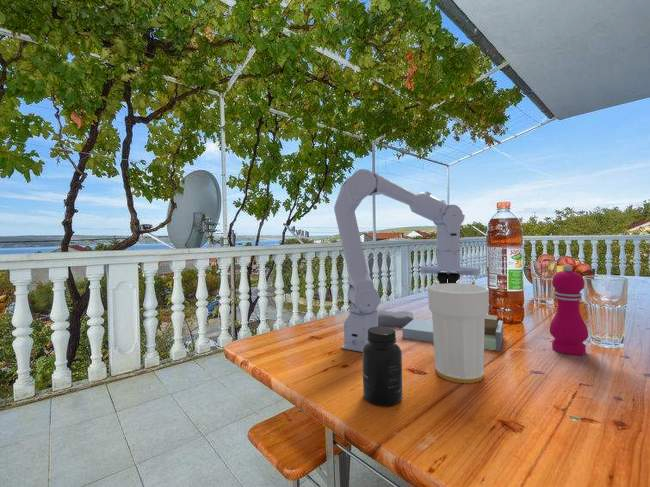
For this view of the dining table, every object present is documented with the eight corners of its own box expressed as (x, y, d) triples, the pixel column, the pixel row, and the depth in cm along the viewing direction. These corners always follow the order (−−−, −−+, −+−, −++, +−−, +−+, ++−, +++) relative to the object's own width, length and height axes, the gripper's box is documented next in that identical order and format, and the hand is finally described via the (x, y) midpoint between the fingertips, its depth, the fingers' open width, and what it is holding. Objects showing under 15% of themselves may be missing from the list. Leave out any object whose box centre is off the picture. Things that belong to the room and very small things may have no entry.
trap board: (402, 337, 89) (402, 321, 89) (414, 326, 98) (413, 311, 98) (500, 351, 76) (500, 332, 76) (503, 337, 86) (503, 320, 86)
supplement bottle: (355, 398, 57) (353, 330, 57) (378, 384, 62) (376, 322, 62) (388, 412, 53) (386, 338, 52) (410, 396, 57) (408, 328, 57)
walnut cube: (496, 335, 80) (496, 319, 80) (478, 333, 82) (478, 318, 82) (497, 331, 83) (497, 315, 83) (480, 329, 85) (480, 314, 85)
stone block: (376, 324, 109) (374, 326, 100) (377, 309, 110) (375, 310, 100) (413, 326, 107) (415, 329, 97) (413, 311, 107) (415, 312, 98)
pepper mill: (548, 343, 81) (547, 262, 80) (585, 347, 77) (585, 263, 76) (550, 353, 75) (550, 265, 74) (591, 358, 71) (590, 266, 70)
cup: (494, 369, 67) (493, 285, 67) (485, 392, 58) (484, 294, 57) (438, 358, 74) (436, 281, 73) (422, 377, 64) (420, 290, 64)
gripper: (480, 249, 86) (480, 300, 87) (424, 249, 94) (425, 296, 94) (476, 251, 80) (477, 306, 81) (417, 251, 88) (418, 301, 88)
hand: (449, 301), depth 87 cm, fingers closed
